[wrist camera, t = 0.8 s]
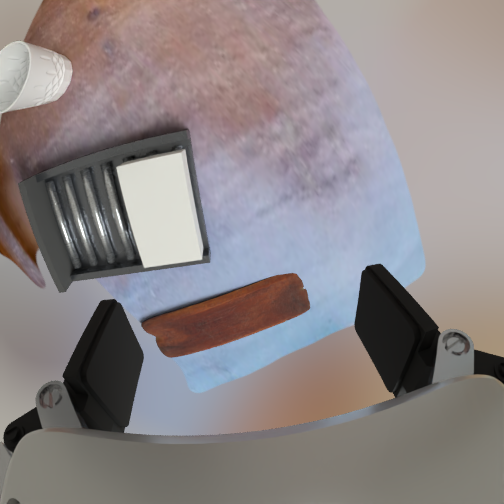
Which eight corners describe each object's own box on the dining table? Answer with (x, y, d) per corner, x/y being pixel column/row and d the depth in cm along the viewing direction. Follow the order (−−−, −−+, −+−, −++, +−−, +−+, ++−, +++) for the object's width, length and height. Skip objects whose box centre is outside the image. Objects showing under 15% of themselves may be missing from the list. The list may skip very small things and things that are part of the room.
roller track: (38, 173, 27) (18, 183, 23) (189, 129, 28) (183, 131, 24) (73, 273, 35) (59, 292, 30) (210, 253, 36) (209, 273, 31)
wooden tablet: (168, 355, 46) (167, 362, 44) (138, 318, 41) (136, 325, 39) (312, 311, 44) (315, 318, 42) (298, 264, 39) (301, 270, 37)
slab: (125, 161, 27) (116, 167, 24) (185, 148, 27) (181, 152, 24) (149, 255, 33) (144, 267, 30) (203, 247, 33) (201, 259, 30)
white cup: (86, 53, 21) (42, 40, 12) (64, 112, 24) (16, 118, 15) (43, 49, 19) (-3, 41, 10) (25, 103, 22) (-23, 110, 13)
